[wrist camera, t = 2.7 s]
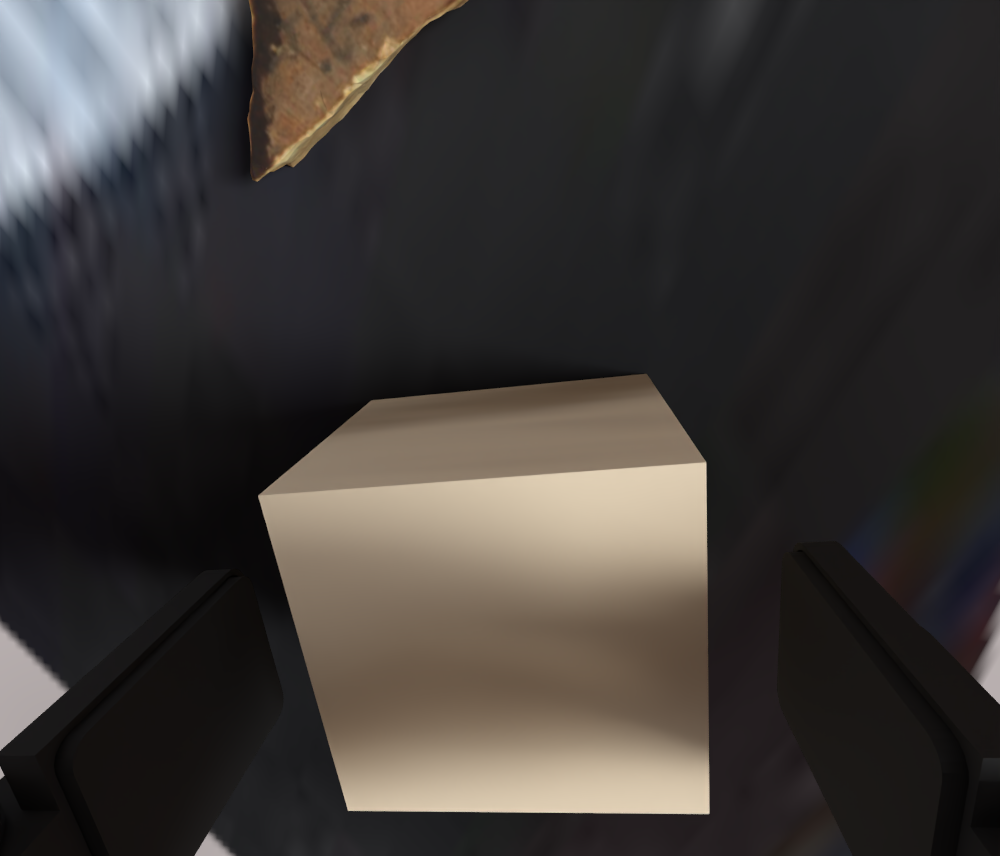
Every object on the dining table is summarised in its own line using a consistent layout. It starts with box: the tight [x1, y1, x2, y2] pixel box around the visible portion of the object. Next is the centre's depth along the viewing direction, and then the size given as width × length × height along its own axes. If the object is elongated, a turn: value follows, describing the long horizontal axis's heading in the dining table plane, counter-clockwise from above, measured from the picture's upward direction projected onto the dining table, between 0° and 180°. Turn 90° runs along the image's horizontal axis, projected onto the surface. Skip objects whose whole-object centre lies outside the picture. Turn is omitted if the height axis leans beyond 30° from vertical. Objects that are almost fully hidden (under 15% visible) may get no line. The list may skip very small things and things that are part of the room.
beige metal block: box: [258, 374, 709, 814], centre depth 10 cm, size 6×6×5 cm
